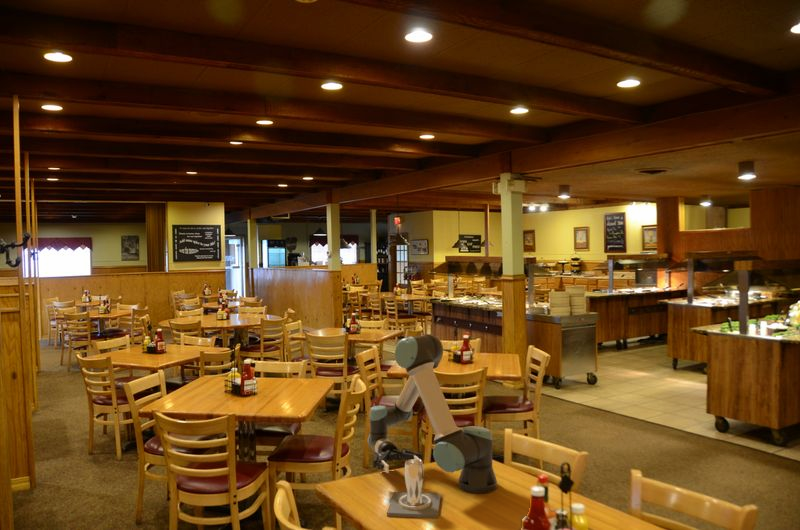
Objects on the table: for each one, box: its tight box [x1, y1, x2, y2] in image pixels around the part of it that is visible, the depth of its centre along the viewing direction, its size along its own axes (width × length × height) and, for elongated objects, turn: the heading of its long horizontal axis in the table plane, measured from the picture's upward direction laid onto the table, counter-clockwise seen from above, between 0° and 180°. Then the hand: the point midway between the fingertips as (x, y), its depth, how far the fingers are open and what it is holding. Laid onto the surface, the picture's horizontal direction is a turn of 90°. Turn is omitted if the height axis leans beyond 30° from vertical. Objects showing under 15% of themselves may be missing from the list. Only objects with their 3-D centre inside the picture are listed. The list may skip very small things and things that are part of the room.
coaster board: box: [386, 491, 442, 519], centre depth 215 cm, size 18×18×2 cm
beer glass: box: [404, 459, 424, 506], centre depth 215 cm, size 7×7×15 cm
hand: (404, 466), depth 224 cm, fingers open, 13 cm apart
